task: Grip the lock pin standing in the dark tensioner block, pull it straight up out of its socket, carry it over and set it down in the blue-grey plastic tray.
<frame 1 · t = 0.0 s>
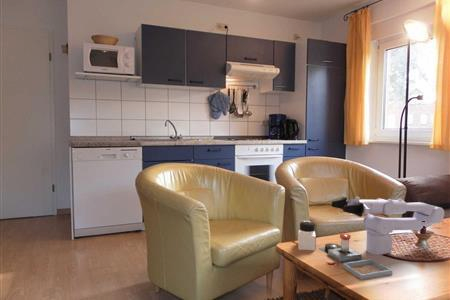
hand: (337, 206, 133), 22 cm above the table, tool horizontal, fingers open, 7 cm apart
medicine bottle: (306, 249, 146), on the table
tensioner block: (339, 256, 138), on the table
lock pin: (344, 256, 135), point 1 cm above the table, touching tensioner block
tray: (366, 273, 122), on the table
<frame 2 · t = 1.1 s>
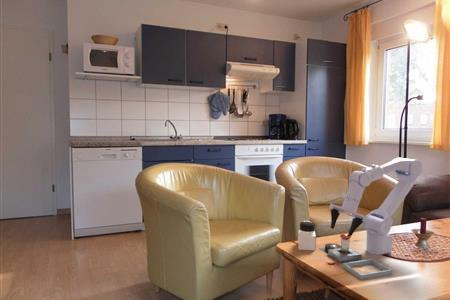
hand: (340, 231, 133), 12 cm above the table, tool tilted 20°, fingers open, 7 cm apart
lock pin: (344, 256, 135), point 1 cm above the table, touching gripper, tensioner block
everything else where it was.
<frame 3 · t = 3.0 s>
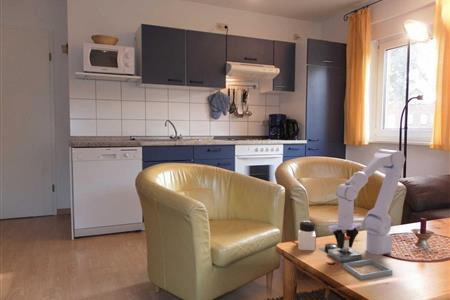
hand: (344, 247, 134), 5 cm above the table, tool pointing down, fingers closed on lock pin, 4 cm apart
lock pin: (344, 256, 135), point 1 cm above the table, touching gripper, tensioner block
everything else where it was.
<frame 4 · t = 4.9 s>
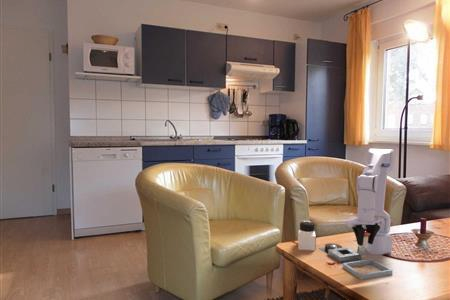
hand: (364, 244, 123), 10 cm above the table, tool pointing down, fingers closed on lock pin, 4 cm apart
lock pin: (361, 253, 124), point 6 cm above the table, tilted 7°, touching gripper
everything else where it was.
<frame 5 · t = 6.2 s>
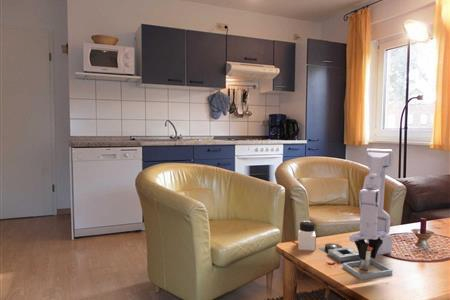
hand: (367, 258, 122), 6 cm above the table, tool pointing down, fingers closed on lock pin, 4 cm apart
lock pin: (363, 267, 123), point 2 cm above the table, tilted 8°, touching gripper
everything else where it was.
when the fingers open (6 cm above the table, at t = 6.8 s): lock pin stays where it is, resting on tray.
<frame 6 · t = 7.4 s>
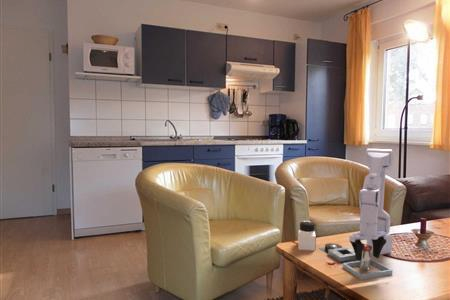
hand: (367, 258, 122), 6 cm above the table, tool pointing down, fingers open, 7 cm apart
lock pin: (364, 269, 124), point 1 cm above the table, tilted 6°, touching tray
everything else where it was.
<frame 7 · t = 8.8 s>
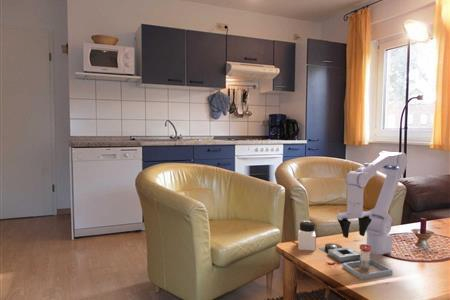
hand: (353, 236, 131), 10 cm above the table, tool pointing down, fingers open, 7 cm apart
nothing on the table moved.
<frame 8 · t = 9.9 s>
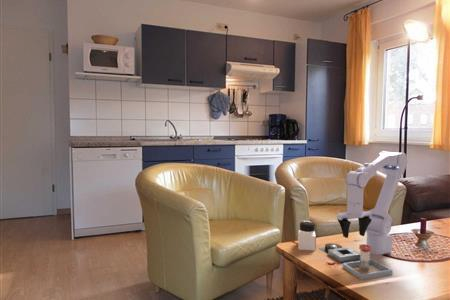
hand: (353, 236, 131), 10 cm above the table, tool pointing down, fingers open, 7 cm apart
nothing on the table moved.
at the end: lock pin inside the target area on the tray (1.3 cm from its centre), point 0.7 cm above the tray's base; the gripper is holding nothing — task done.
